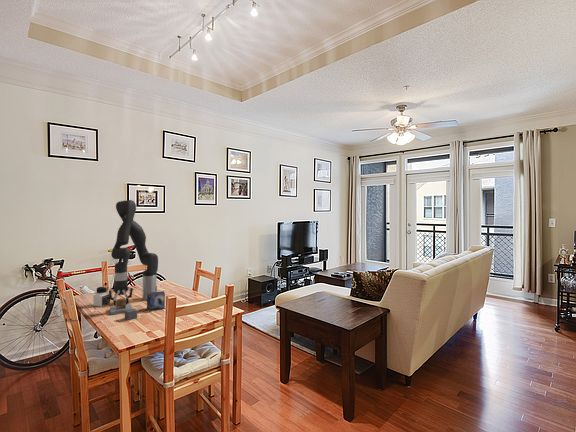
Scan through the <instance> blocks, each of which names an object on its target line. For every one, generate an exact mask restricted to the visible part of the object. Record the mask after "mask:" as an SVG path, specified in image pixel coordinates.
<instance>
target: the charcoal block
mask: <svg viewBox="0 0 576 432" xmlns="http://www.w3.org/2000/svg"><path fill="white" fill-rule="evenodd" d="M124 319H125V320H127V321H132V320H135V319H138V310H137V309H135V308H132V309H129V310H125V313H124Z"/></svg>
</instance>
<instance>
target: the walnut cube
mask: <svg viewBox="0 0 576 432" xmlns="http://www.w3.org/2000/svg"><path fill="white" fill-rule="evenodd" d="M116 308H117V309H124V308H126V298H119V299H118V298H116Z"/></svg>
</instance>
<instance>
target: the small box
mask: <svg viewBox="0 0 576 432" xmlns="http://www.w3.org/2000/svg"><path fill="white" fill-rule="evenodd" d="M165 295H166V292H165V291H164V290H162V291H157V292H150V293H147V300H146V309H147V311H157V310H165V307H166V305H165V304H166V300H165V299H166V296H165Z"/></svg>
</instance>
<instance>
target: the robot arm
mask: <svg viewBox="0 0 576 432" xmlns="http://www.w3.org/2000/svg"><path fill="white" fill-rule="evenodd" d="M136 205H137V204H136V201H134V200H132V199H129V200H128V199H127V200H120V201H117V202H116V203H115V209H116V210H115V211H116V212H117V214H118V215H119V217H120V219H121V221H122V223H121V225H120V226H119V227H118V230H117V234H116V241H115V244H114V247H113V248H112V251H111V253H110V254H111V257H112V259H113V260H114V259H115V260H122V261H121V262H116V263H114V264H115V265H114V275H113V276H114V278H113V280H114V281H113V282H114V283H113V285H114V286H113V287H114V288H113V289H109V290H108V293H109V296H110V301H112V303H113V306H116V300H117V299H118V296H124V297H125V300H126V305H127V304H129V300H130V298H132V296H133V291H134V288H133V287H128V285H129V284H128V283H129V282H128V279H129V277H128V264H129V259H130V256H131V250H130V249H129V248H128V247H122V246H126V245H128V244H129V240H130V239H131V241H132V243H133V245H134V247H135V249H136V251H137V256H138V258H139V261H140V263H141V265H143V266H146V269H145V270H143V271H142V300H143V301H147V293H150V292H158V286H157V274H158V273H157V272H158V268H159V256H158V255H157V254H156V253H154V252H153V253H152V252H149V250H148V249H147V246H146V241H147V238H146V237H147V235H146V234H145V231H144V229H143V226H141V225H140V224H139V223H138V222H136V221H135V220H134V219H135V214H136V210H137V206H136ZM128 291H129V295H128V294H127V292H128ZM113 293H114V296H113V295H112V294H113Z"/></svg>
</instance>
